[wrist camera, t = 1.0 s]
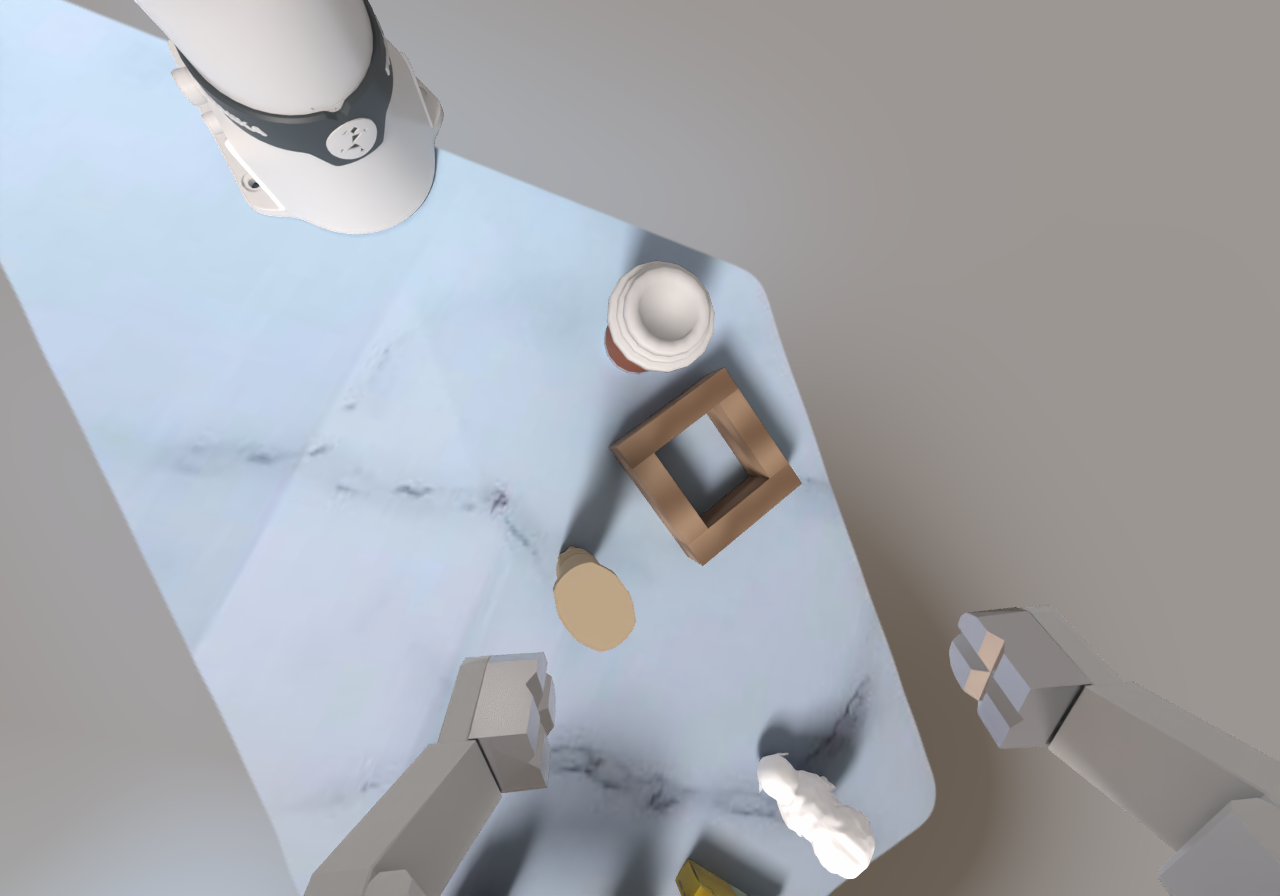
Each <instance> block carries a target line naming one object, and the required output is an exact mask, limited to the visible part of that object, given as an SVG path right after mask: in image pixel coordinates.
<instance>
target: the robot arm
mask: <svg viewBox="0 0 1280 896" xmlns="http://www.w3.org/2000/svg"><path fill="white" fill-rule="evenodd" d="M134 1H135V2H136V3H137V4H138V5H139V6H140V7H141V8H142V9H143V10H144V11H145V13H146V14H147V15H148V16H149V17H150V18H151V19H152V20H153V21H154V22H155V23H156V24H157V25H158V26H159V27H160V28H161V30H162V31H163V32H164V33H165V34H166V35H167V36H168V37H169V41H168V47H169V50H170V52H171V54H172V56H173V58H174V60H175V62H176V64H177V66H178V69H174V70H173V71H172V72H171V74H172V76H173V78H174V80H175V82H176V83H177V85H178V86H179V88H180V89H181V91H182V92H183V94H184V95H185V96H186V98H187V99H188V100H189V101H190V102H191V103H192V104H193V105H197V106H198V107H199V109H200V111H201V113H202V114H201V116H202V118H203V120H204V122H205V123H206V125H207V126H208V128H209V129H210V131H211V133H212V135H213V137H214V139H215V141H216V143H217V145H218V147H219V149H220V151H221V153H222V155H223V157H224V159H225V160H226V162H227V164H228V166H229V168H230V170H231V172H232V174H233V176H234V178H235V180H236V182H237V184H238V186H239V188H240V190H241V192H242V194H243V196H244V198H245V200H246V201H247V203H248V204H249V205H250V206H251V208H252V209H253V210H254V211H256V212H257V213H260V214H263V215H267V216H276V217H294V218H298V219H301V220H304V221H306V222H309V223H311V224H313V225H316V226H318V227H321V228H324V229H327V230H330V231H334V232H339V233H346V234H368V233H374V232H379V231H383V230H386V229H389V228H391V227H393V226H396V225H398V224H399V223H401V222H403V221H404V220H406V219H407V218H408V217H410V216H411V215H412V214H413V213H414V212H415V211H416V210H417V209H418V208H419V207H420V206H421V204H422V203H423V202H424V200H425V198H426V197H427V195H428V193H429V191H430V188H431V185H432V182H433V178H434V172H435V151H434V144H435V138H436V136H437V134H438V131H439V128H440V127H441V124H442V121H443V109H442V107H441V104H440V102H439V100H438V99H437V98H436V97H435V96H434V95H433V94H432V93H431V92H430V91H429V90H428V89H427V88H426V87H425V86H424V85H423V84H422V83H421V82H420V81H419V80H418V79H417V78H416V77H415V75H414V72H413V70H412V67H411V64H410V62H409V60H408V58H407V56H406V55H405V54H404V53H403V52H398V50H397V49H396V48H395V47H394V46H393V45H392V44H391V43H390V42H389V41H388V40H387V39H386V38H385V37H384V34H383V31H382V28H381V26H380V24H379V21H378V19H377V17H376V15H375V14H374V12H373V10H372V7H371V5H370V4H369V2H368V0H134ZM254 183H258V184H259V185H260V186H259V187H258V188H252V186H253V184H254ZM958 627H959V628H960V629H961V631H962V633H961V634H960V635H958V636H957V637H956V638H955V639H953V640H952V643H951V647H950V650H949V656H950V663H951V668H952V670H953V672H954V675H955V678H956V679H957V681H958V682H959V684H960V686H961V687H962V689H963V691H965V692H966V693H968V694H969V695H971V696H972V697H974V698H975V699H977V700H978V711H977V713H978V715H979V717H980V718H981V720H982V721H983V723H984V724H985V726H986V728H987V729H988V731H989V732H990V734H991V736H992V737H993V739H994V740H995V742H996V743H997V745H998V746H999V748H1000V749H1003V748H1021V747H1037V746H1049V747H1048V749H1049V750H1050V751H1051V752H1053V753H1054V754H1055V755H1056V756H1058V757H1059V758H1060V759H1061V760H1063V761H1064V762H1065V763H1067V764H1068V765H1069V766H1070V767H1071V768H1073V769H1074V770H1075V771H1076V772H1078V773H1079V774H1080V775H1082V776H1083V777H1084V778H1085V779H1086V780H1088V781H1089V782H1090V783H1091V784H1093V785H1094V786H1095V787H1096V788H1098V789H1099V790H1100V791H1101V792H1103V793H1104V794H1105V795H1106V796H1108V797H1109V798H1110V799H1111V800H1113V801H1114V802H1115V803H1117V804H1118V805H1119V806H1120V807H1121V808H1123V809H1124V810H1125V811H1126V812H1128V813H1129V814H1130V815H1131V816H1133V817H1134V818H1135V819H1136V820H1138V821H1139V822H1140V823H1141V824H1143V825H1144V826H1145V827H1146V828H1148V829H1149V830H1150V831H1151V832H1153V833H1154V834H1155V835H1156V836H1158V837H1159V838H1160V839H1161V840H1163V841H1164V842H1165V843H1166V844H1168V845H1169V846H1170V847H1171V848H1173V849H1174V850H1175V851H1176V853H1175V854H1174V855H1173V856H1172V857H1171V858H1170V859H1169V860H1168V861H1167V862H1165V863H1164V864H1163V866H1161V867H1160V868H1159V874H1158V879H1159V880H1160V882H1161V883H1162V885H1163V886H1164V887H1165V889H1166V890H1167V892H1168V893H1169V894H1170V896H1280V762H1279V761H1278V760H1276V759H1274V758H1272V757H1270V756H1269V755H1267V754H1264V753H1263V752H1261V751H1259V750H1258V749H1256V748H1254V747H1252V746H1250V745H1248V744H1247V743H1245V742H1243V741H1241V740H1239V739H1237V738H1235V737H1234V736H1232V735H1230V734H1228V733H1226V732H1225V731H1223V730H1221V729H1219V728H1217V727H1215V726H1213V725H1212V724H1210V723H1208V722H1206V721H1204V720H1203V719H1201V718H1199V717H1197V716H1195V715H1193V714H1191V713H1190V712H1188V711H1186V710H1184V709H1182V708H1180V707H1179V706H1177V705H1175V704H1173V703H1171V702H1169V701H1168V700H1166V699H1164V698H1162V697H1160V696H1158V695H1156V694H1155V693H1153V692H1151V691H1149V690H1147V689H1146V688H1143V687H1142V686H1140V685H1138V684H1137V683H1135V682H1124V681H1123V680H1122V679H1121V678H1120V677H1119V676H1118V675H1117V674H1116V673H1115V671H1114V670H1113V669H1112V668H1111V667H1110V666H1109V665H1108V664H1107V663H1106V662H1105V661H1104V660H1103V659H1102V657H1101V656H1100V655H1099V654H1098V653H1097V652H1096V651H1095V650H1094V649H1093V648H1092V647H1091V646H1090V645H1089V644H1088V643H1087V642H1086V640H1085V639H1084V638H1083V637H1082V636H1081V635H1080V634H1079V633H1078V632H1077V631H1076V630H1075V629H1074V628H1073V627H1072V625H1071V624H1070V623H1069V622H1068V621H1067V620H1066V619H1065V618H1064V617H1063V616H1062V615H1061V614H1060V613H1059V612H1058V611H1057V610H1056V609H1054V608H1053V607H1051V606H1049V605H1039V606H1030V607H1022V608H1017V607H1014V608H1013V607H1012V608H1003V609H994V610H984V611H975V612H967V613H965V614H964V615H962V616H961V618H960V620H959V623H958ZM546 670H547V660H546V657H545V654H544V652H537V653H522V654H508V655H493V656H492V655H491V656H480V657H468V658H465V660H464V661H463V663H462V665H461V666H460V669H459V672H458V675H457V679H456V682H455V685H454V689H453V692H452V695H451V699H450V702H449V705H448V709H447V712H446V715H445V719H444V722H443V725H442V729H441V732H440V735H439V739H438V742H437V743H433V744H429V745H428V746H427V747H426V748H425V749H424V750H423V751H422V753H421V754H420V755H419V756H418V757H417V758H416V759H415V760H414V762H413V763H412V764H411V765H410V766H409V767H408V768H407V769H406V770H405V772H404V773H403V774H402V775H401V776H400V777H399V778H398V779H397V781H396V782H395V783H394V784H393V785H392V786H391V787H390V788H389V789H388V791H387V792H386V793H385V794H384V795H383V796H382V797H381V798H380V799H379V801H378V802H377V803H376V804H375V805H374V806H373V807H372V808H371V810H370V811H369V812H368V813H367V814H366V815H365V816H364V817H363V818H362V820H361V821H360V822H359V823H358V824H357V825H356V826H355V827H354V829H353V830H352V831H351V832H350V833H349V834H348V835H347V836H346V837H345V839H344V840H343V841H342V842H341V843H340V844H339V845H338V846H337V847H336V849H335V850H334V851H333V852H332V853H331V854H330V855H329V856H328V858H327V859H326V860H325V861H324V862H323V863H322V864H321V865H320V866H319V868H318V869H317V870H316V871H315V872H314V873H313V874H312V877H311V879H310V882H309V884H308V886H307V889H306V891H305V893H304V896H440V895H441V893H442V892H443V890H444V888H445V887H446V885H447V884H448V882H449V881H450V879H451V877H452V876H453V874H454V873H455V871H456V869H457V868H458V866H459V865H460V863H461V861H462V860H463V858H464V857H465V855H466V853H467V852H468V850H469V849H470V847H471V845H472V844H473V842H474V841H475V839H476V837H477V836H478V834H479V833H480V831H481V829H482V828H483V826H484V825H485V823H486V821H487V820H488V818H489V817H490V815H491V813H492V812H493V810H494V809H495V807H496V805H497V804H498V802H499V801H500V799H501V797H502V794H501V793H507V792H516V791H524V790H533V789H542V788H547V784H548V775H549V767H550V758H551V748H550V745H549V742H548V739H547V735H548V734H549V733H550V731H551V730H552V729H553V727H554V721H555V689H554V683H553V680H552V677H551V676H550V675H548V674H547V673H546Z"/></svg>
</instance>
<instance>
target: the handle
mask: <svg viewBox="0 0 1280 896" xmlns="http://www.w3.org/2000/svg"><path fill="white" fill-rule="evenodd" d="M556 571H557V580H556V582H555V585H554V587H553V591H554V597H555V603H556V608H557V612H558V615H559V618H560V620H561V621H562V623H563V625H564V626H565V627H566V628H567V630H568V631H569V632H570V634H571V635H572V636H573V637H574V638H575V639H576V640H577V641H578V642H580V643H582V644H583V645H585V646H587V647H590V648H592V649H594V650H596V651H599V652H601V651H607V650H610V649H612V648H614V647H616V646H618V645H619V644H620V643H622V642H623V641H624V640H625V639H626V638H627V637H628V636H629V635H630V633H631V632H632V630H633V628H634V626H635V623H636V618H635V612H634V606H633V602H632V599H631V596H630V594H629V592H628V591H627V589H626V588H625V587H624V585H623V584H622V583H621V581H620V580H619V578H618V577H617V576H616V574H615V573H614V572H613V571H611V570H610V569H608V568H606V567H604V566H602V565H601V564H599V562H598V561H597V560H596V559H595V557H594V556H593V555H591V554H590V553H589V552H588V551H586V550H584V549H580V548H575V547H574V546H571V547H569V548H568V550H567V551H565V552H564V553H561V554H560V555H559V557H558V563H557V569H556Z"/></svg>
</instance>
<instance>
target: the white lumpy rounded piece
mask: <svg viewBox="0 0 1280 896" xmlns="http://www.w3.org/2000/svg"><path fill="white" fill-rule="evenodd" d="M784 755H789V754H788V753H776V754H774V755H769V756H765V757H763V758H762V759H761V760H760V761H759V764H758V768H757V773H758V780H759V793H760V787H761V790H762V788H763V789H764V791H765V792H766V793H767V794H768V795H770V796H771V797H773V798H774V799H776V800H777V803H778V807H779V810H780V812H781V815H782V818H783V820H784V821H785V823H786V825H787V826H788V828H789V829H792V830H794V831H795V832H796V833H797V834H798V835H799V836H800V837H802V836H804V837H805V838H806V839H807V840H809V841H810V842H811V843H812V845H813V849H814V853H815V855H816V856H817V857H818V858H819V861H820V863H821V864H822V866H824V867H825V868H826V869H827V870H828V871H830V872H831V873H837V874H838V875H840V876H842V877H844V878H847V879H853V878H856V877H857V876H858V875H859V874H860V873H861V872H862V871H864V870H865V869H866V868H867V867H868V865H869V863H870V860H871V858H872V855H873V852H874V849H875V839H874V836H873V833H872V831H871V829H870V822H869V820H868V819H867V818H866V816H865V815H864V814H863V813H862V812H861V811H857V810H856V809H855V808H853V807H851V806H849V805H843V804H842V803H841V802H840V801H839V800H838V799H837V797H835V796H834V795H833V793H832V791H834V790H835V789H836V788H835V786H834V785H833V784H832V783H830V782H828V780H827V779H826V777H824V776H821V777H819V776H818V775H817V774H813V773H809V772H806V771H803V770H800V771H797V770H795V769H794V768H793V766H792V765H791V764H790V763H789V762H788V761H787V760H786V759H785V758H783V757H781V756H784Z"/></svg>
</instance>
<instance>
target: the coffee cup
mask: <svg viewBox="0 0 1280 896" xmlns="http://www.w3.org/2000/svg"><path fill="white" fill-rule="evenodd" d="M714 314H715V313H714V310H713V306H712V303H711V300H710V296H709V293H708V291H707V290H706V289H705V287H704V286H703V285H702V283H701V282H700V281H699V279H698V278H697V277H696V276H695V275H694V274H692V273H691V272H689V271H687V270H686V269H684V268H683V267H681V266H679V265H678V264H673V263H667V262H661V261H653V262H649V263H645V264H641V265H636V266H635V267H634V268H633V269H631V270H630V271H629V272H627V273H626V274H625V275H624V276H622V277H621V278H620V279H619V281H618V283H617V285H616V287H615V288H614V290H613V292H612V294H611V296H610V298H609V302H608V314H607V323H608V326H607V329H606V331H605V338H604V346H605V349H606V352H607V356H608V357H609V359H610V360H611V361H612V362H613V364H614V365H615V366H616V367H618V368H620V369H621V370H623V371H625V372H627V373H635V374H640V373H644V372H647V371H657V372H665V373H667V372H671V371H674V370H677V369H681V368H684V367H687V366H689V365H690V364H691V363H692V362H693V361H695V360H696V359H697V358H698V357H699V356H700V355H702V354H703V353H704V351H705V349H706V347H707V345H708V343H709V341H710V339H711V337H712V335H713V327H714Z"/></svg>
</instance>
